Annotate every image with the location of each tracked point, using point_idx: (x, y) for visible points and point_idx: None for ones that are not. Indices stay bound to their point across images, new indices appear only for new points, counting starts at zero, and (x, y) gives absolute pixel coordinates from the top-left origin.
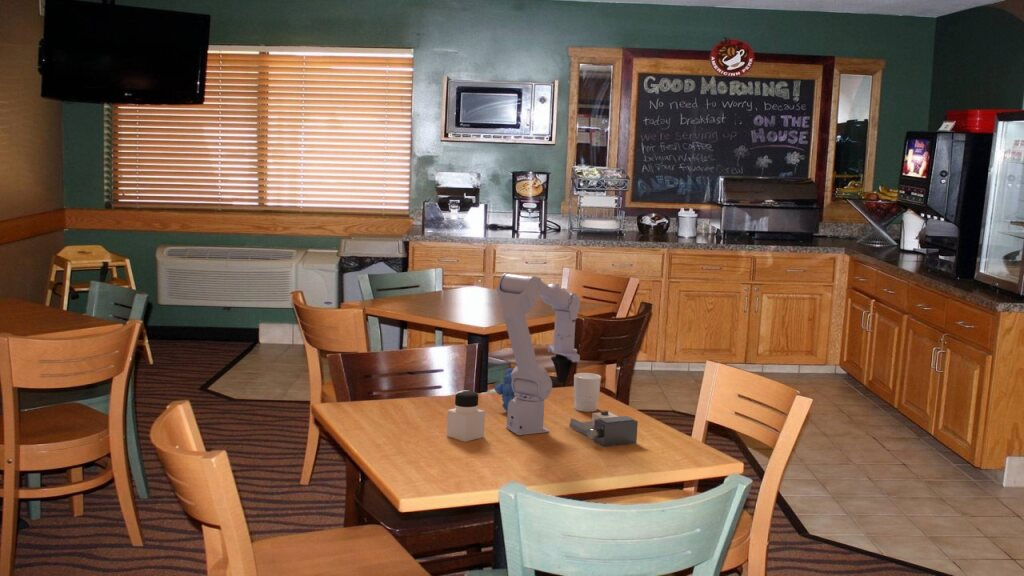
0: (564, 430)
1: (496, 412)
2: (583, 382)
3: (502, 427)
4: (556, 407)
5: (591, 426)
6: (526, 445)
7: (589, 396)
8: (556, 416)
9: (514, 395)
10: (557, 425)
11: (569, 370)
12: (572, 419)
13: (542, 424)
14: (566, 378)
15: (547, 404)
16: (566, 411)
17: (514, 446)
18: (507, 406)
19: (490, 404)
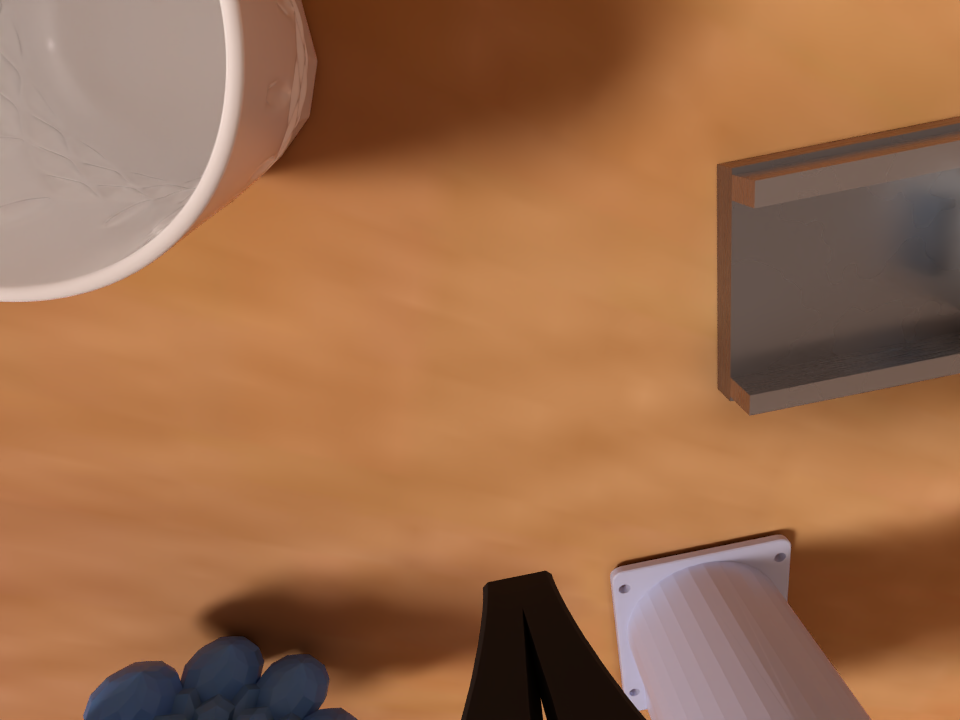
0: (773, 439)
1: None
2: (232, 186)
3: None
4: (156, 327)
5: (861, 268)
6: (922, 661)
7: (298, 69)
8: (437, 400)
9: (147, 685)
10: (656, 451)
11: (639, 717)
12: (778, 409)
13: (780, 597)
14: (567, 615)
15: (57, 374)
16: (292, 282)
17: (908, 702)
18: (324, 699)
19: None
